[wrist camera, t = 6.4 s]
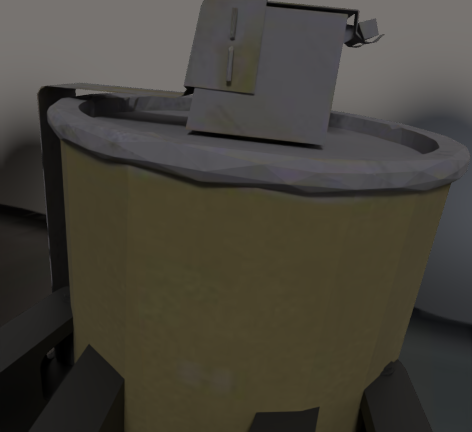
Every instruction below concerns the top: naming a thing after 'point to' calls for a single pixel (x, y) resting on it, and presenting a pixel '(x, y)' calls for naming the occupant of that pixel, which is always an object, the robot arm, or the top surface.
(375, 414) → the robot arm
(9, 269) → the top surface
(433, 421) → the top surface
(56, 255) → the canister
